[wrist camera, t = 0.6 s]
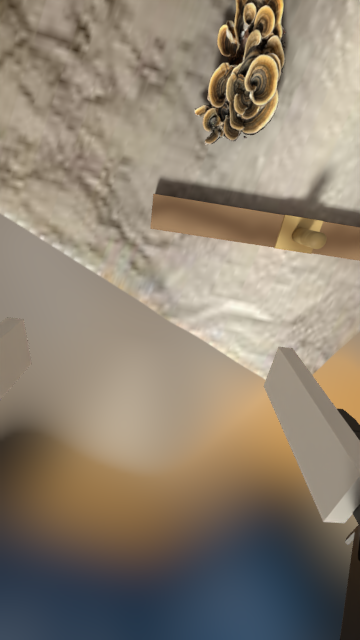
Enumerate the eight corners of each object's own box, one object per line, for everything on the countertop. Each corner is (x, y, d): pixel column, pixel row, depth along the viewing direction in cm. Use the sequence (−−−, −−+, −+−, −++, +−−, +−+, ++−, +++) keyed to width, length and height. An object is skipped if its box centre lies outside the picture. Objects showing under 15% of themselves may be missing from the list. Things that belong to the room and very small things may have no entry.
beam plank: (155, 193, 31) (149, 192, 25) (373, 229, 34) (419, 236, 27) (151, 227, 33) (145, 234, 27) (359, 259, 35) (399, 272, 29)
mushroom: (234, -2, 24) (245, -38, 20) (298, 39, 25) (319, 12, 22) (187, 138, 29) (188, 129, 25) (242, 165, 30) (252, 162, 27)
